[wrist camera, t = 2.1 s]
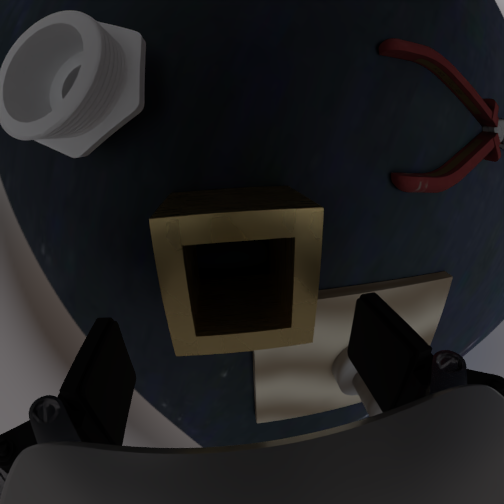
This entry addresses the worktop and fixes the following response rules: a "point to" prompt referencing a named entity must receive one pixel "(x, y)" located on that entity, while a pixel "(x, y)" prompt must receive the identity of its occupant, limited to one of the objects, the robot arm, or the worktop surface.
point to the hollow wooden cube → (241, 287)
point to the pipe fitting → (72, 82)
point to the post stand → (339, 349)
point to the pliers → (484, 110)
